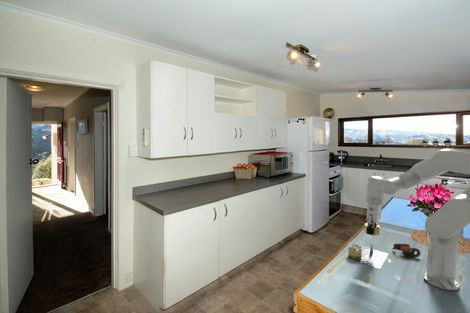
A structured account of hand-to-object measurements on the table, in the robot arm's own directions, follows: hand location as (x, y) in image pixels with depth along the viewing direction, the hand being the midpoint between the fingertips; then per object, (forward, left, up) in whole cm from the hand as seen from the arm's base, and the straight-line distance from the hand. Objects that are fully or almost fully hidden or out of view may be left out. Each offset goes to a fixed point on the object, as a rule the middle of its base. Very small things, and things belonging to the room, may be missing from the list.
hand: (371, 232), depth 127 cm
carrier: (-4, +3, -13) cm, 14 cm away
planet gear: (0, 0, 0) cm, 0 cm away
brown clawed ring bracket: (+3, -17, -13) cm, 22 cm away
